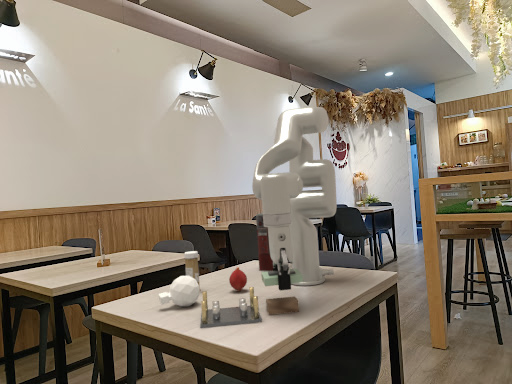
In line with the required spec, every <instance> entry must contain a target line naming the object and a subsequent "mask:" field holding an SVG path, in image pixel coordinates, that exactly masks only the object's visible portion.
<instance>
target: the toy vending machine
mask: <svg viewBox="0 0 512 384" xmlns="http://www.w3.org/2000/svg"><path fill="white" fill-rule="evenodd" d="M255 220H256V223H255V224H256V234H257V235H256V236H257V237H256V238H257V251H258V253H257V254H258V255H257V256H258V271H260V272H261V271H262V272H269V271H273V260H272V259H271V256H270V249H269V236H268V227H264V223H263V212H261V213H257V214H256V215H255Z"/></svg>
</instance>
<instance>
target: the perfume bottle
mask: <svg viewBox="0 0 512 384" xmlns="http://www.w3.org/2000/svg"><path fill="white" fill-rule="evenodd" d="M199 285H200V284H199ZM199 285H198V283H197V281H196V279H194V278H192V277H190V276H186V275H180V276H179V277H177V278H175V279H173V281H172V283H171V284H170V286H169V289H168V290H169V292H168V291H164V292H162V293H161V292H160V293H158V301H159V303H160V304H161V306H163V305H166V304H168V303H170V301H172V303H173V304H175V305H177V306H178V307H181V308H182V307H191V306H192V305H193V304H194V303H196V302H197V301H198V298H199V297H200V296H201V289H200V290H199Z"/></svg>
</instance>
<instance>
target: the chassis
mask: <svg viewBox="0 0 512 384" xmlns="http://www.w3.org/2000/svg"><path fill="white" fill-rule="evenodd" d="M201 296H202V301H200V303H201V304H200V305H201V314H200V323H199V324H200V325H199V326H200V329H202V328H203V329H204V328H215V327H222V326H223V327H225V326H235V325H246V324H255V323H262V322H263V319H262V316H261V314H260V311H259V310H260V308H259V296H257V295H256V296H255V288H254V287H253V286H251V287H249V304H250V305H248V303H247V301H246V298H243V297H242V298H238V306H231V307H221V308H220V301H219V300H213V301H212V308H210V309H209V306H208V292H207V290H206V291H205V290H204V291H202V295H201Z"/></svg>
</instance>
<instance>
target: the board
mask: <svg viewBox="0 0 512 384" xmlns="http://www.w3.org/2000/svg"><path fill="white" fill-rule="evenodd" d="M289 271H290V279H291V285H293V284H292V283H301V282H303V275H302V274H301V273H300V272H299V271H298V270H297V269H292V268H289ZM260 273H261V274H260V275H261V280H262V283H263V285H264V286H265V287H272V286H278V275H279V272H278V271H262V272H261V271H260Z"/></svg>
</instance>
